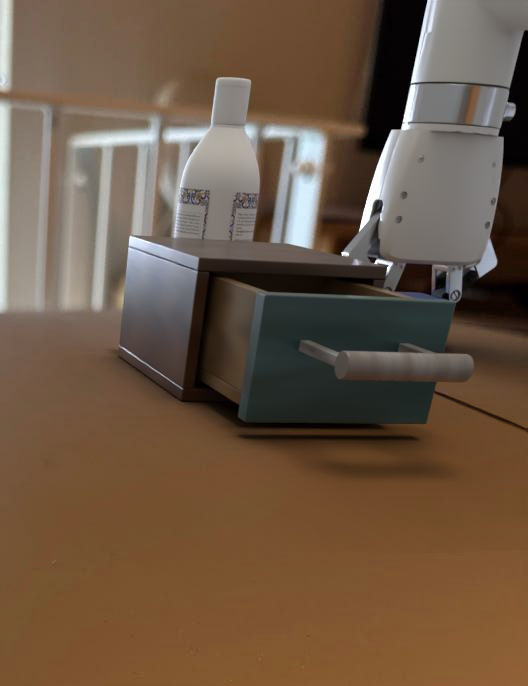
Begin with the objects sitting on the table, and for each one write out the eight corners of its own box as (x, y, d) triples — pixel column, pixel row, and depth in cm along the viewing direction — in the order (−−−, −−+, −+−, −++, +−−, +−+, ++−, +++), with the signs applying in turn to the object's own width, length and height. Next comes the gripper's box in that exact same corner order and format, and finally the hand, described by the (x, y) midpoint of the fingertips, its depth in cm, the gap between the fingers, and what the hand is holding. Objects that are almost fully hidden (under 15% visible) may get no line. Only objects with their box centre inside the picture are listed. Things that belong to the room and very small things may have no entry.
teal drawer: (488, 453, 51) (525, 320, 48) (290, 453, 48) (316, 312, 45) (320, 374, 68) (340, 271, 65) (167, 371, 65) (180, 264, 62)
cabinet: (359, 403, 64) (388, 266, 60) (181, 401, 61) (199, 257, 57) (269, 359, 77) (288, 243, 73) (117, 355, 74) (129, 234, 70)
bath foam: (235, 324, 92) (271, 84, 83) (241, 336, 86) (280, 78, 77) (163, 318, 93) (190, 79, 83) (164, 329, 86) (194, 72, 77)
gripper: (514, 122, 83) (459, 341, 91) (336, 106, 79) (295, 335, 87) (574, 121, 76) (509, 357, 84) (383, 104, 72) (334, 352, 81)
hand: (401, 343), depth 86 cm, fingers closed on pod, 4 cm apart
